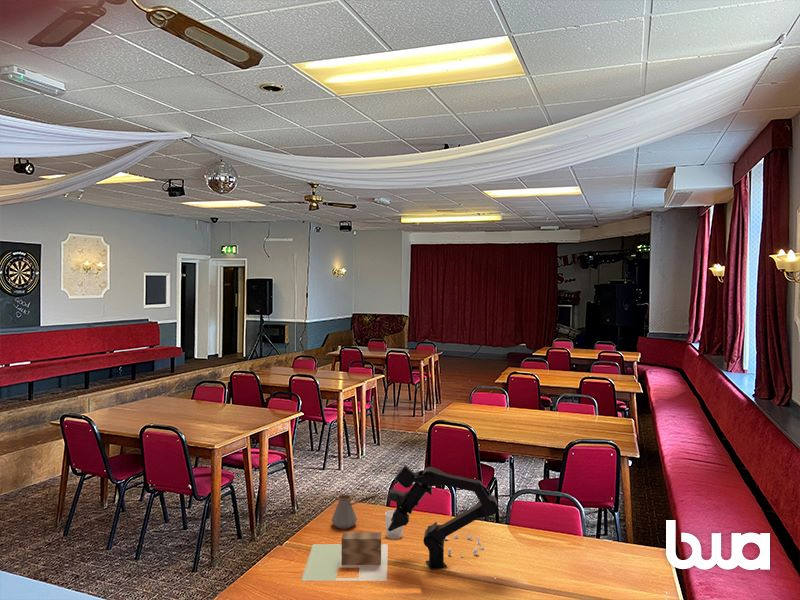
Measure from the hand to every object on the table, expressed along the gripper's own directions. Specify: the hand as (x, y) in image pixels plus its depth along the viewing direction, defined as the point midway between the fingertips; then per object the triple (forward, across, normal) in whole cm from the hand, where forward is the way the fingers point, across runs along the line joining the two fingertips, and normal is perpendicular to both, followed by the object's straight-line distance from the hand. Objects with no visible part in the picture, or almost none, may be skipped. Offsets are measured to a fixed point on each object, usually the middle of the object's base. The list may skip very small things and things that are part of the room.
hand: (390, 525), depth 229 cm
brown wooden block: (+17, +3, -1) cm, 17 cm away
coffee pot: (+24, -32, -7) cm, 41 cm away
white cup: (+13, -24, +8) cm, 28 cm away
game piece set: (-4, -17, +31) cm, 35 cm away
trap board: (+21, +4, -4) cm, 22 cm away
